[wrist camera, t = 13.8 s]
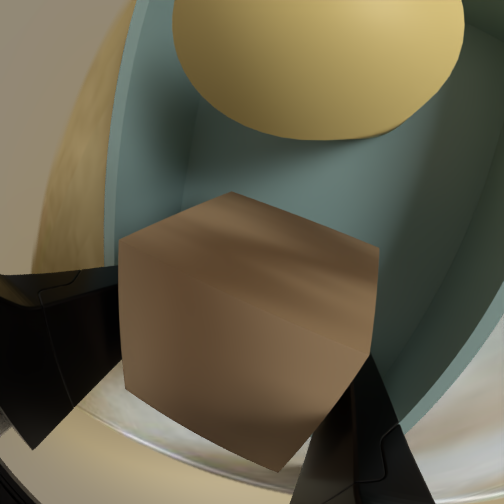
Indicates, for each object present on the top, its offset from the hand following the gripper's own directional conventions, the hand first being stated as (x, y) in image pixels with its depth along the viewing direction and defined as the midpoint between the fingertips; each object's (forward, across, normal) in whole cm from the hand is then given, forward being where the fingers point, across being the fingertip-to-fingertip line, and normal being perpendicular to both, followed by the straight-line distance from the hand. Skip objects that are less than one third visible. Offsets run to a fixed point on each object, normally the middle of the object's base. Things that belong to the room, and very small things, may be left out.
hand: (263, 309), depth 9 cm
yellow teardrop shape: (+4, 0, -8) cm, 9 cm away
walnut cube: (+2, 0, 0) cm, 2 cm away
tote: (+5, 0, -4) cm, 6 cm away
